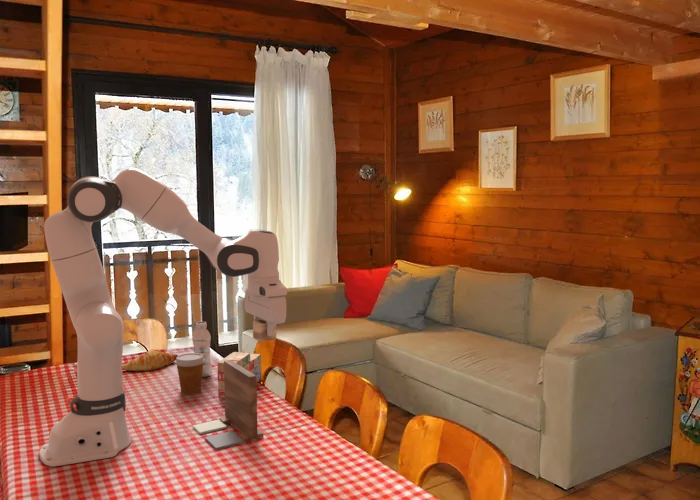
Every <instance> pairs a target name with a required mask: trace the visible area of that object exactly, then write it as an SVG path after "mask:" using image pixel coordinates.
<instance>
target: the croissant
mask: <svg viewBox="0 0 700 500" xmlns="http://www.w3.org/2000/svg"><path fill="white" fill-rule="evenodd" d="M177 356H179V355H178V354H176V353H171V352H170V353H169V352H167V353H166V352H164V351H161V350H158V349H150V350H148V351H146V352H145V353H144V354H140V355H138V356H137V357H136V358H134V359H130V360H129V361H128V362H127V363H125V364H122V370H124V371H129V372H136V371H137V372H141V371H146V372H147V371H152V370H156V369H161V368H163V367H165V365H166V366H168V365H172V364H173V363H175V361H176V358H177Z"/></svg>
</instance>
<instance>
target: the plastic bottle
mask: <svg viewBox="0 0 700 500" xmlns="http://www.w3.org/2000/svg"><path fill="white" fill-rule="evenodd" d="M207 326H208V325H207V321H203V320H199V321H196V322H195V330H194V332H193V334H192V336H191V340H192V346H193V353H199V354H202V355H203V358H204V362H203V369H202V378H205V377H209V376H211V374H212V371H213V365H212V361H211V360H212V359H211V353H210V351H211V349H210V348H211V340H212V339H211V338H212V336H211V333H210V332H209V330H208V329H207Z"/></svg>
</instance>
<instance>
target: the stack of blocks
mask: <svg viewBox="0 0 700 500" xmlns="http://www.w3.org/2000/svg"><path fill="white" fill-rule="evenodd" d="M261 357H262V356H261V354H260V353H250V352H241V351H239V352H238V351H233V352H232V353H229V355H226V356H225V357H224V358H222V359H221V360H219V361H217V385H218V386H217V387H218V389H217V390H218V391H217V393H218V395H217V397H218V399H225V385H224V361H227V360H231V361H233V362H235V363H236V364H238V365H239V366H241V367H243V368H244V369H246V370H248V371H249V372H251V373H252V374H254V375H256V381H257V383H258V382H260V381H261V380H262V358H261Z"/></svg>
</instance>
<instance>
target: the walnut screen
mask: <svg viewBox="0 0 700 500" xmlns="http://www.w3.org/2000/svg"><path fill="white" fill-rule="evenodd" d="M257 383H258V382H257V381H256V375H254V374H252V373H251V372H249V371H248V370H246V369H244V368H243V367H241V366H239V365H238V364H236V363H235V362H233V361H231V360H227V361H224V385H225V398H224V414H225V415H224V416H223V417H219V420H220V421H221V422H223V423H224V424H225V425H226V426H227V425H229V424H230V425H231V426H232V427H233V428H235V430H236V431H238V432H239V434H238V436H239V437H240V438H241V439H243V440H244V443H247V442H254V441H257V440H259V439H261V438H264V432H263V431H262V430H260V429H258V398H257V397H258V395H257V394H258V393H257V391H258V390H257Z"/></svg>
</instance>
